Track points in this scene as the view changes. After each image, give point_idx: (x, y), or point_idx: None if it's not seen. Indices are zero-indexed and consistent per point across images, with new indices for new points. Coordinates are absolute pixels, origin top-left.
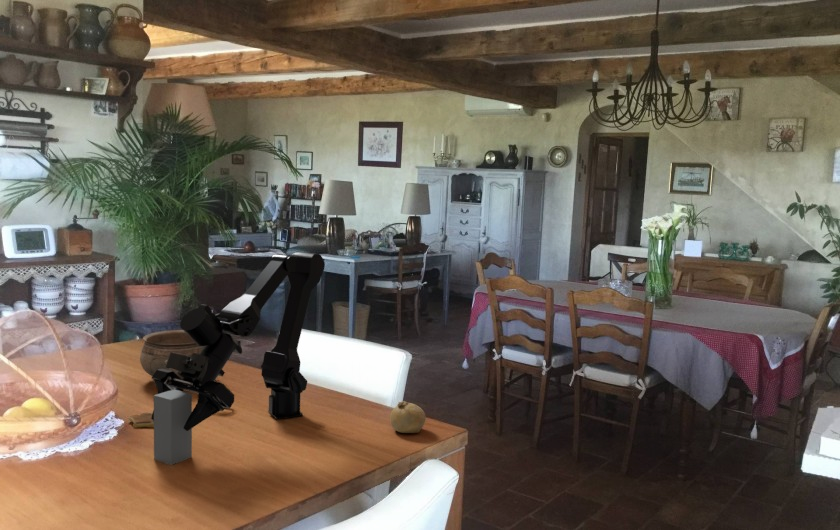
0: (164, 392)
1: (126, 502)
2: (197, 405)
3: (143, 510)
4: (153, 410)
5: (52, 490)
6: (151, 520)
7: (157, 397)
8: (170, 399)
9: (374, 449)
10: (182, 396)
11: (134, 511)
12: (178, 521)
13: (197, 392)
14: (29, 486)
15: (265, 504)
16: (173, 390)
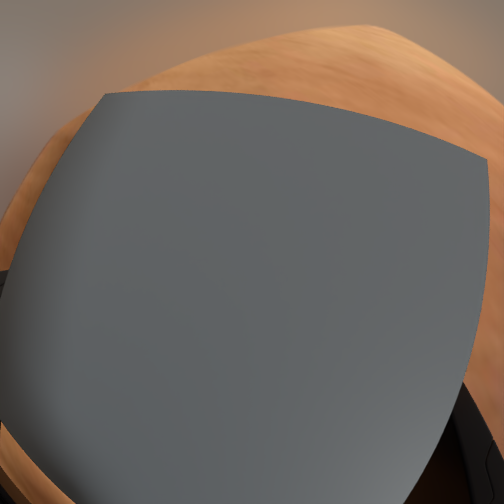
0: (430, 421)
1: (249, 82)
2: (2, 285)
3: (202, 78)
4: (463, 384)
5: (425, 88)
6: (176, 69)
7: (384, 133)
8: (115, 99)
9: None
10: (13, 263)
11: (216, 71)
12: (137, 84)
13: (18, 498)
14: (471, 98)
15: (37, 177)
16: None
